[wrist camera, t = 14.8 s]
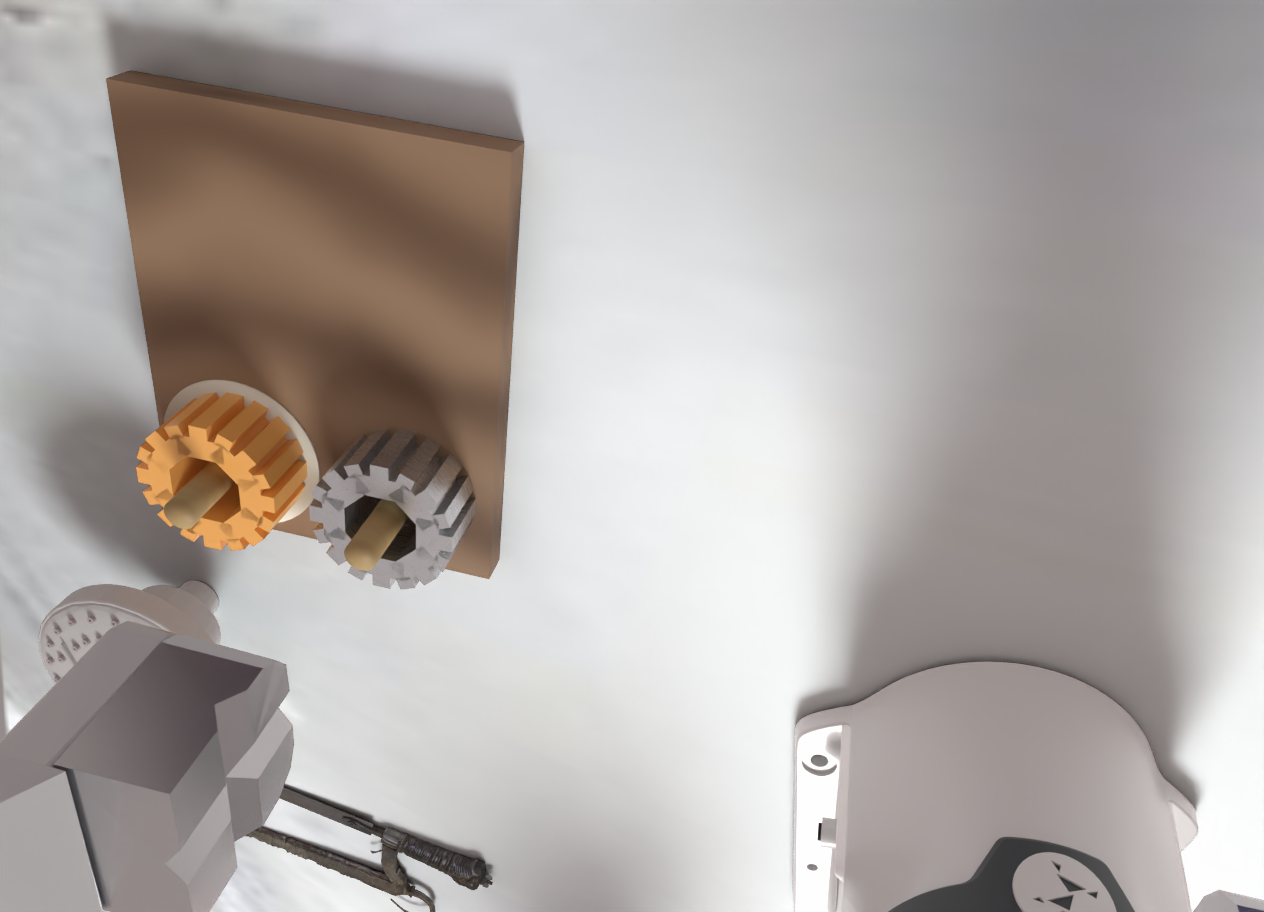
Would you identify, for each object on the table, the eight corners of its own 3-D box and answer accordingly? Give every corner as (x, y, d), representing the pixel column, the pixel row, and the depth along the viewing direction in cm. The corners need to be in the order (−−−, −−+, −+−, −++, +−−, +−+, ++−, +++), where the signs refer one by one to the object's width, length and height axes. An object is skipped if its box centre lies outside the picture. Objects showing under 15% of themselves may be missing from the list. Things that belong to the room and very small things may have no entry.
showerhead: (245, 768, 50) (73, 758, 52) (315, 666, 56) (157, 661, 58) (174, 616, 45) (-11, 613, 48) (258, 522, 51) (90, 524, 54)
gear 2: (473, 561, 48) (450, 602, 45) (342, 532, 48) (313, 570, 46) (478, 445, 44) (453, 483, 42) (337, 415, 45) (305, 450, 42)
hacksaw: (501, 859, 62) (493, 881, 61) (467, 948, 68) (459, 970, 66) (127, 717, 62) (111, 736, 61) (125, 818, 68) (110, 837, 67)
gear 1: (310, 525, 48) (279, 563, 46) (184, 496, 49) (147, 532, 47) (303, 408, 45) (268, 443, 42) (167, 379, 46) (126, 411, 43)
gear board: (499, 559, 49) (451, 650, 44) (189, 489, 51) (106, 568, 46) (524, 141, 38) (464, 194, 33) (130, 70, 40) (12, 109, 35)
